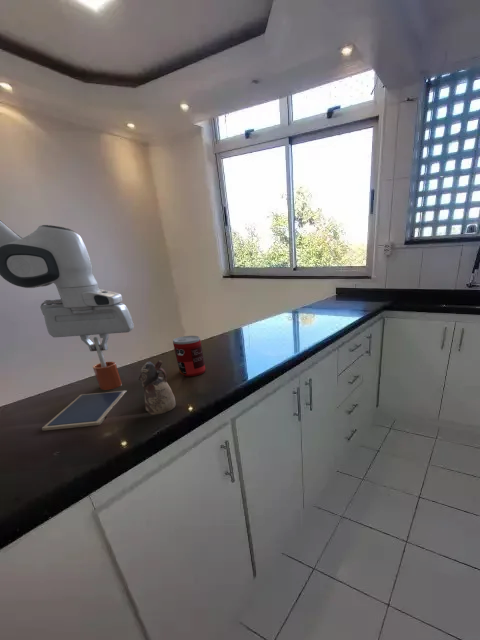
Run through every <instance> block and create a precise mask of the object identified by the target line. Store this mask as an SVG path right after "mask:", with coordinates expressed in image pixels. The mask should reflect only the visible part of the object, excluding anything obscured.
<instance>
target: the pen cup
mask: <svg viewBox="0 0 480 640" xmlns="http://www.w3.org/2000/svg"><path fill="white" fill-rule="evenodd" d="M105 363H106V366H107V367H103V368H102V367H101V363H100V362H99V363H96V364H94V365H92V369H93V372H94V375H95V378H96V380H97V381H96V382H97V383H98V386H99V389H100V390H102V391H107V390H113V389H117V388H119V387H121V386H122V385H123V382H122V380H121V376H120V373H119V369H118V367H117V363H116V361H105Z"/></svg>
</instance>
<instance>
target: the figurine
mask: <svg viewBox="0 0 480 640" xmlns="http://www.w3.org/2000/svg"><path fill="white" fill-rule="evenodd" d="M162 365H163V361H162V360H158V361H156V363H155V364H154V363H153V362H151V361H147V362H145V363H144V365H143V366H141V369H140V375H139V377H138V381H140V384H141V386H142V387H143V397H144V409H145V411H147V414H149V415H152V416H155V415H162V414H165V413H169V412H170V411H172V410H173V409H174V408H176V405H177V404H176V403H177V402H176V397H175V395H174V393H173V390H172V388H171V386H170V385H169V383H168V382H167V378H168V376H167V373H166V371H165V369H164V368H162ZM160 374H162V375H163V377H161V376H159V375H160Z"/></svg>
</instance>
